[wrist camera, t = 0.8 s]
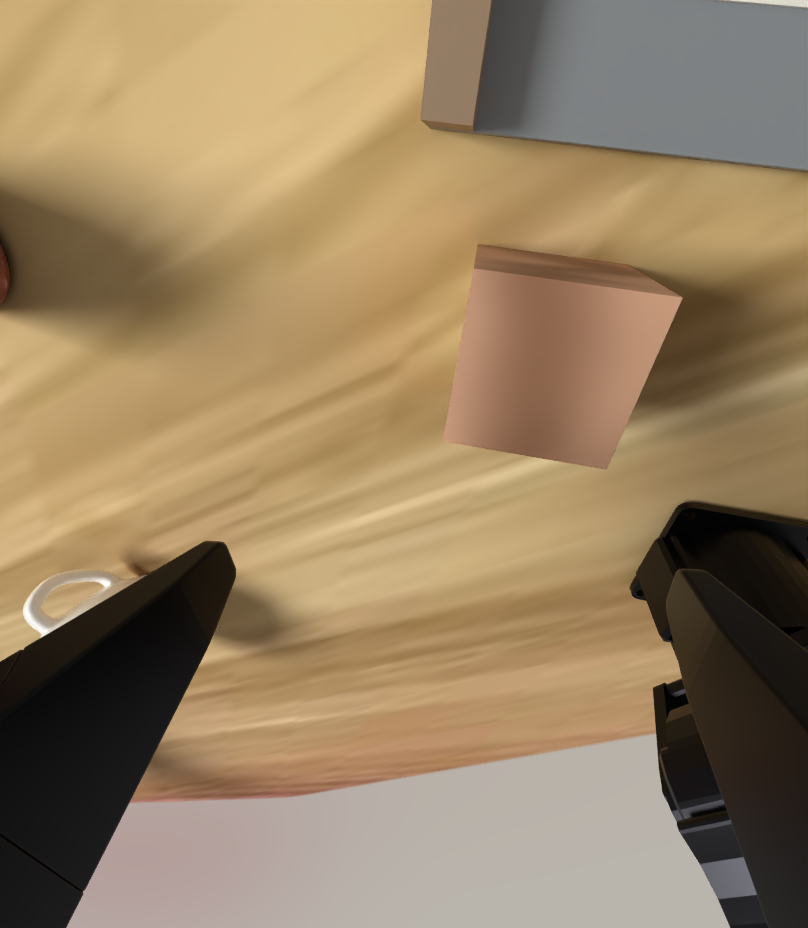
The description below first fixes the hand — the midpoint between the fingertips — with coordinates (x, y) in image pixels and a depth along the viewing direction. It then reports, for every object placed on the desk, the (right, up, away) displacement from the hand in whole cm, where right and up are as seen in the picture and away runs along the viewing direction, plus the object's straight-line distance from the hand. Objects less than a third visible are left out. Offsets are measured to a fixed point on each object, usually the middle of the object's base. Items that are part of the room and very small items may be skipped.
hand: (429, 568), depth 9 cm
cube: (+5, +8, +9) cm, 13 cm away
